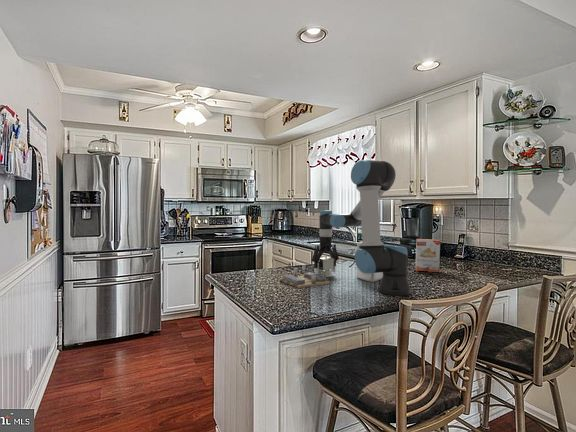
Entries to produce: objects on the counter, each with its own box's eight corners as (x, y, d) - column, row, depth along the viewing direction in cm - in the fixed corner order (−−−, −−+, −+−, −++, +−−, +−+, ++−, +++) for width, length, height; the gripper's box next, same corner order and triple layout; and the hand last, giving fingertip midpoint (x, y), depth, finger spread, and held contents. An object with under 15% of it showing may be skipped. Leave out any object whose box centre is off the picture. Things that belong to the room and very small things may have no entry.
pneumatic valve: (336, 276, 205) (336, 256, 205) (320, 278, 200) (320, 257, 199) (330, 274, 210) (330, 255, 210) (314, 276, 204) (314, 256, 204)
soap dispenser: (374, 282, 189) (374, 243, 188) (350, 279, 198) (351, 241, 197) (384, 278, 201) (385, 240, 201) (362, 275, 210) (362, 239, 209)
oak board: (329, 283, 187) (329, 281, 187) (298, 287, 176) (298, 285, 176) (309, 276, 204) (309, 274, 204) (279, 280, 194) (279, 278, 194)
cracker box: (416, 271, 221) (416, 239, 220) (415, 270, 227) (416, 238, 226) (439, 273, 217) (440, 240, 216) (438, 271, 223) (439, 239, 222)
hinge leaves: (329, 281, 186) (329, 272, 186) (299, 285, 176) (299, 276, 176) (308, 274, 204) (308, 266, 204) (280, 278, 194) (280, 269, 194)
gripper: (337, 234, 213) (337, 269, 214) (305, 236, 201) (305, 273, 202) (345, 235, 207) (344, 271, 208) (312, 237, 195) (312, 275, 195)
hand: (325, 272), depth 205 cm, fingers closed on pneumatic valve, 11 cm apart
